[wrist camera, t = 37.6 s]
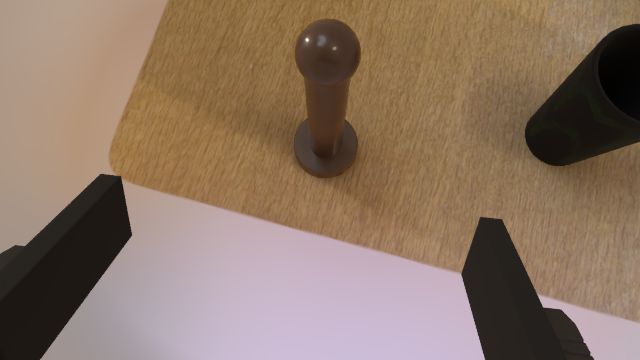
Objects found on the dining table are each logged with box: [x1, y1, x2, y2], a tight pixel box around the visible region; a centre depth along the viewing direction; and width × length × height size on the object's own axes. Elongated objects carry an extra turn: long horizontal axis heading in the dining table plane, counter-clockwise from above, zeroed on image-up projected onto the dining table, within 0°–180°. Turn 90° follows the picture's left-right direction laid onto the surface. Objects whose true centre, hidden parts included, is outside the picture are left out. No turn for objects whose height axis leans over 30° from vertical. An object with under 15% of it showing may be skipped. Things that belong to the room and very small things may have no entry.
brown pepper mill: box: [294, 19, 361, 178], centre depth 31 cm, size 6×6×18 cm
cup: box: [525, 24, 640, 166], centre depth 34 cm, size 8×8×12 cm
